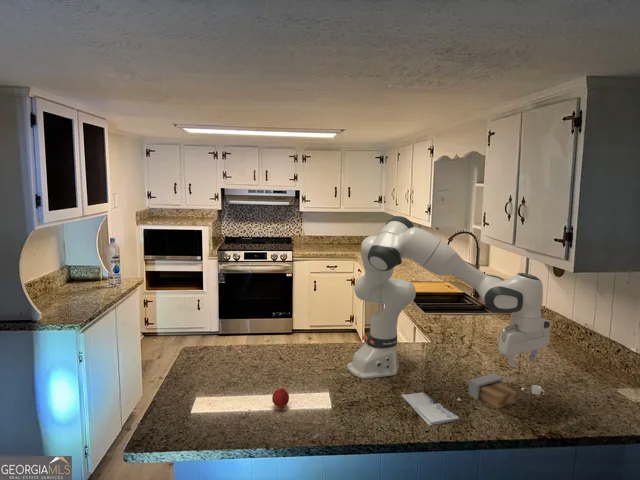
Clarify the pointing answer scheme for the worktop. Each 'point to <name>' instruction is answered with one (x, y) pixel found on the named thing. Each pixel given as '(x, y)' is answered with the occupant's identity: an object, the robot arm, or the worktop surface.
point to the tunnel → (482, 383)
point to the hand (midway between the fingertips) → (522, 363)
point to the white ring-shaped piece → (535, 389)
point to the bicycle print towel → (430, 408)
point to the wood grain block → (497, 394)
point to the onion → (280, 397)
